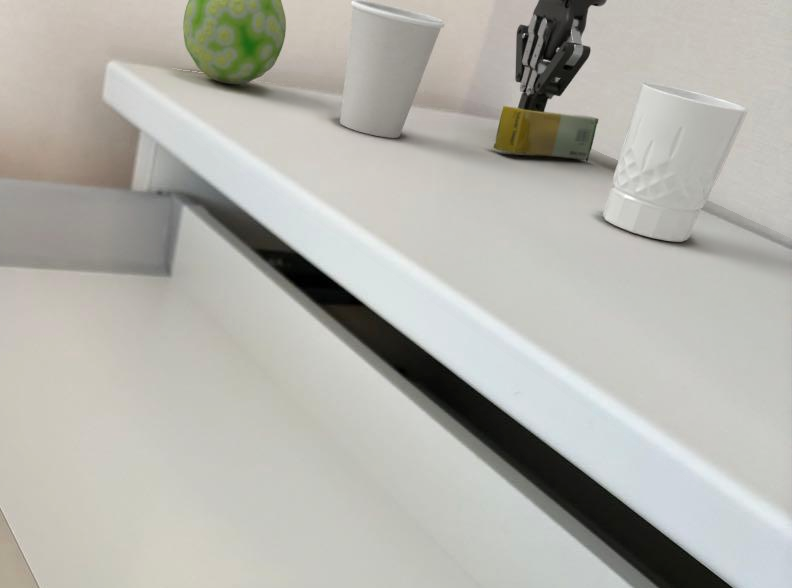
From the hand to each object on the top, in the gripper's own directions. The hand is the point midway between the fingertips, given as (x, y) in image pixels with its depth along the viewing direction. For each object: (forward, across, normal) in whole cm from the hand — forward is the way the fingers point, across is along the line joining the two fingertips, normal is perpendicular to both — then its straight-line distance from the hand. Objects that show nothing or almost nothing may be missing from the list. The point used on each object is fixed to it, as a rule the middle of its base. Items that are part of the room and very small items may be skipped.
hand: (522, 134), depth 110 cm
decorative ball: (+1, +4, +30) cm, 30 cm away
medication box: (+1, -5, 0) cm, 5 cm away
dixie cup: (+1, -7, +18) cm, 20 cm away
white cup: (+1, -29, +1) cm, 29 cm away
